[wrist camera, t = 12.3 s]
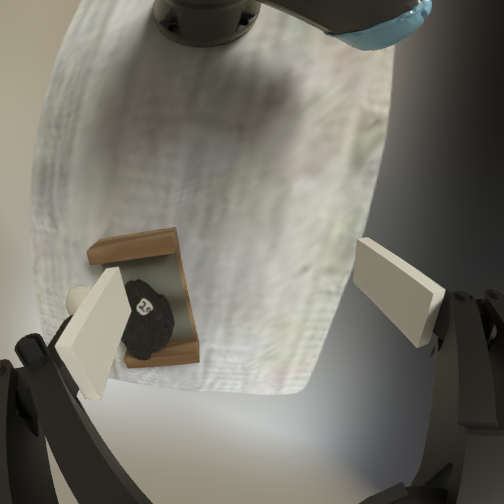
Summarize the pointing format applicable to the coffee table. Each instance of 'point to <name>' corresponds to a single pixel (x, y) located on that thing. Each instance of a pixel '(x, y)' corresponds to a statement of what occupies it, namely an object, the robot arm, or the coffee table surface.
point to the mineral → (146, 320)
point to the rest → (154, 287)
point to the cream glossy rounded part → (76, 298)
